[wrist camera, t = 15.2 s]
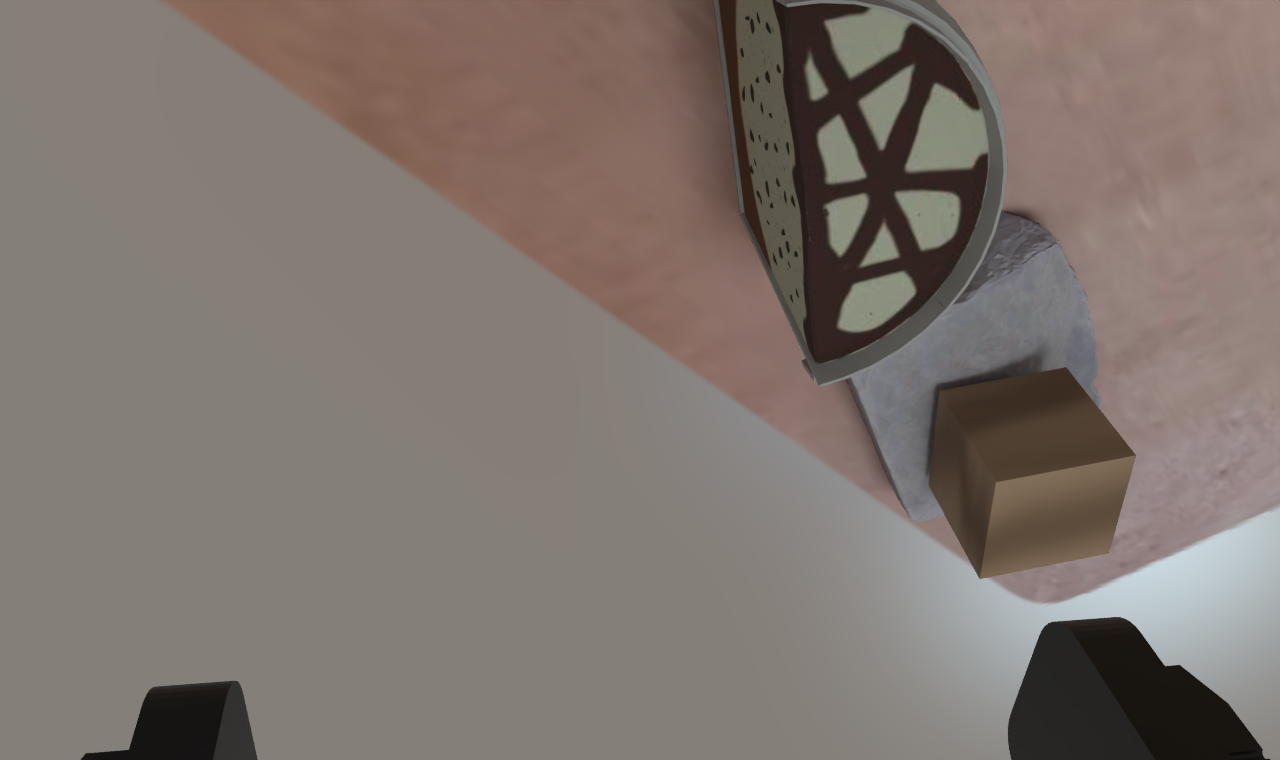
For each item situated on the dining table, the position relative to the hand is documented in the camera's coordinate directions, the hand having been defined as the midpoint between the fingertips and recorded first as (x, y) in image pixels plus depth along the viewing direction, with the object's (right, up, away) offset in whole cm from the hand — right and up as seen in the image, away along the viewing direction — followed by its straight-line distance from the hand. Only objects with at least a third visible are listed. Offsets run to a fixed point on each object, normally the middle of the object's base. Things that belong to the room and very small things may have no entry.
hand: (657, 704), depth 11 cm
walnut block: (+14, +1, +31) cm, 34 cm away
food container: (+6, +14, +26) cm, 30 cm away
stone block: (+13, +5, +34) cm, 37 cm away
